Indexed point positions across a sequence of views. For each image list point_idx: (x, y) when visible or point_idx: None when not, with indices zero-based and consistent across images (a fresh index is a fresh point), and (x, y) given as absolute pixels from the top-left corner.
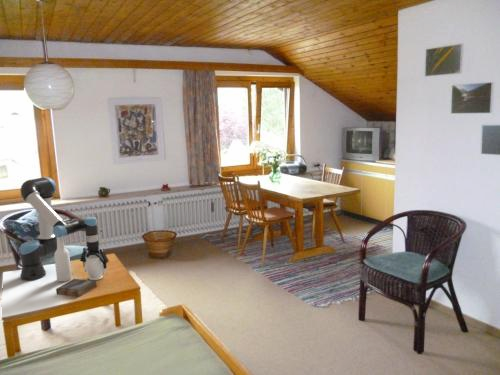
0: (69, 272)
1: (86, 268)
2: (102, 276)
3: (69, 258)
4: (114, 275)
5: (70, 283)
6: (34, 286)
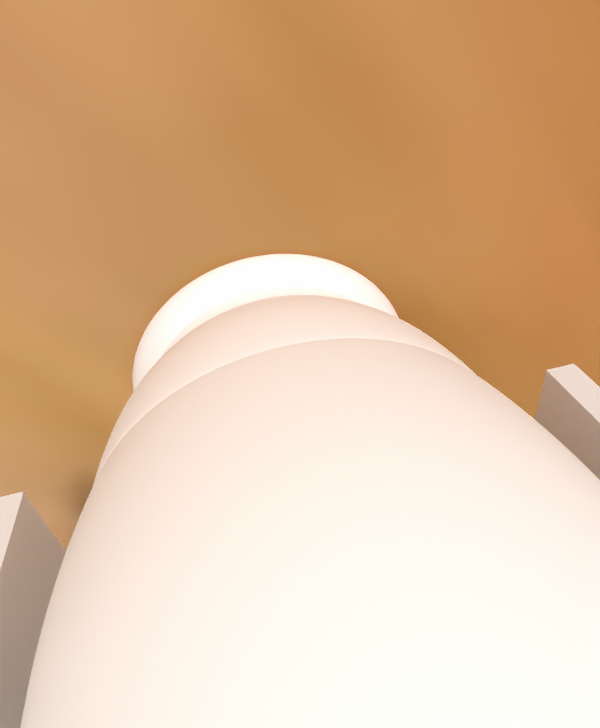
0: None
1: (37, 624)
2: (391, 309)
3: None
4: (586, 78)
5: None
6: None
